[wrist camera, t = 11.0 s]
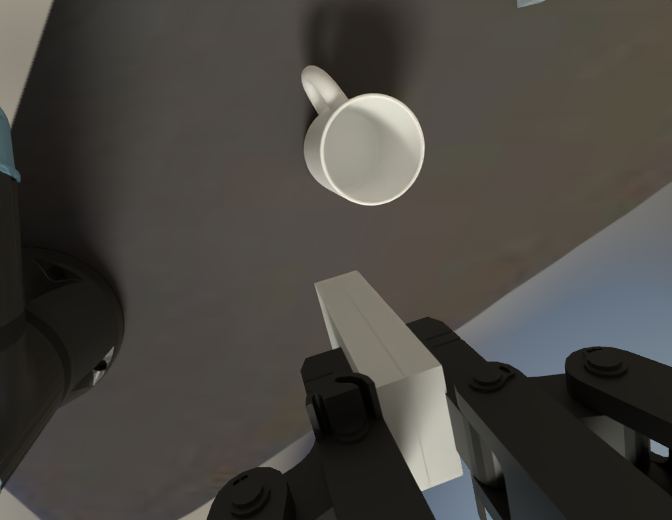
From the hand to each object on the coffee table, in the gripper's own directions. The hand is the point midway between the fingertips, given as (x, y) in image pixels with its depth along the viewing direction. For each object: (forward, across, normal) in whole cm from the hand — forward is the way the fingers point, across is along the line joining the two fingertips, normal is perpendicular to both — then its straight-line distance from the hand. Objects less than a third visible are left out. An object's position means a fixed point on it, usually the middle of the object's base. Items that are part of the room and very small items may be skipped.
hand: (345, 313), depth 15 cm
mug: (+30, +7, +5) cm, 31 cm away
